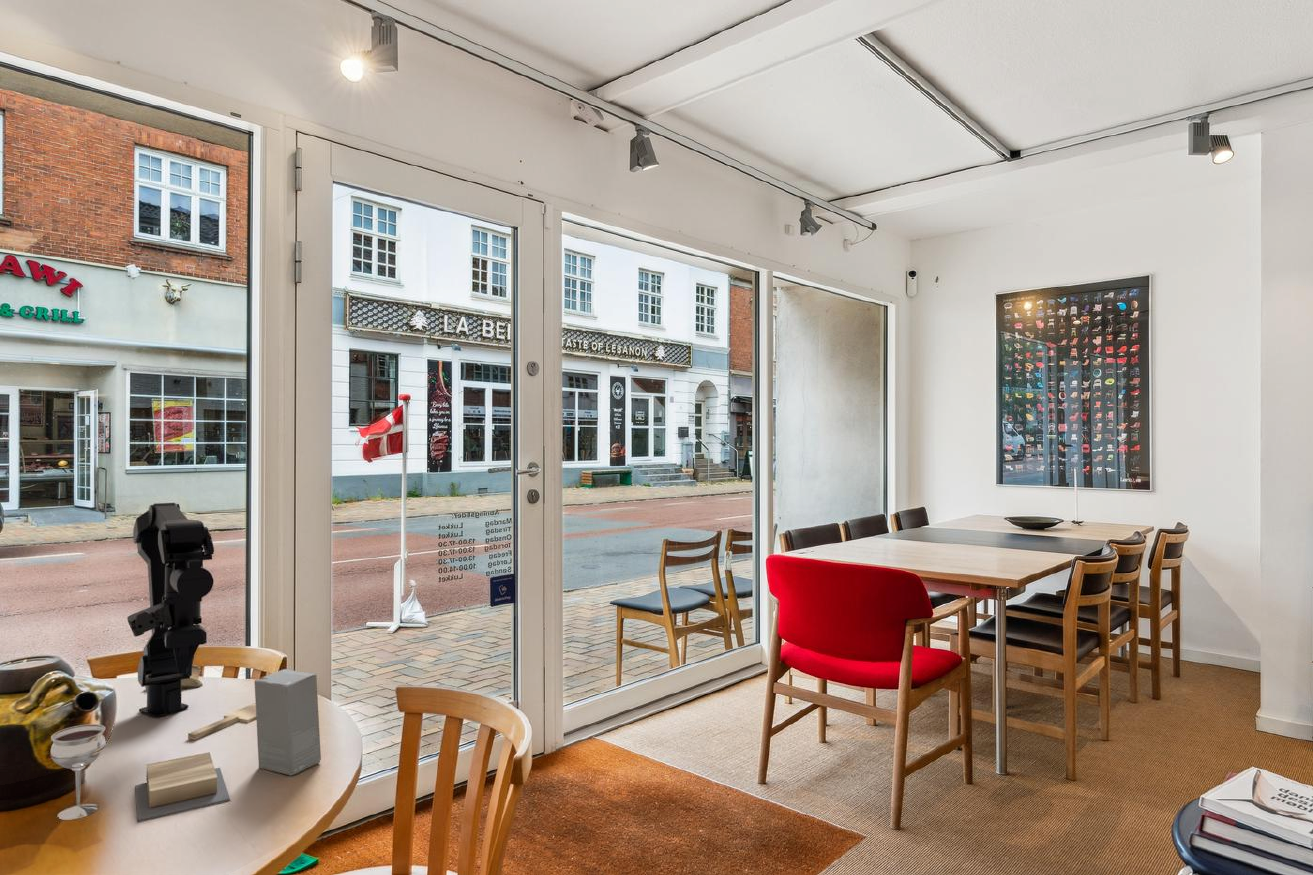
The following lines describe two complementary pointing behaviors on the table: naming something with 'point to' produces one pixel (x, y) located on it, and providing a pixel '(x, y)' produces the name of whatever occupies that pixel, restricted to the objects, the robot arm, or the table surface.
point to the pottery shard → (191, 679)
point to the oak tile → (180, 779)
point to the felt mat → (179, 806)
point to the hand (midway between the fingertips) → (182, 673)
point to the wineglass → (78, 759)
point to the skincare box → (287, 721)
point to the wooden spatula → (226, 721)
